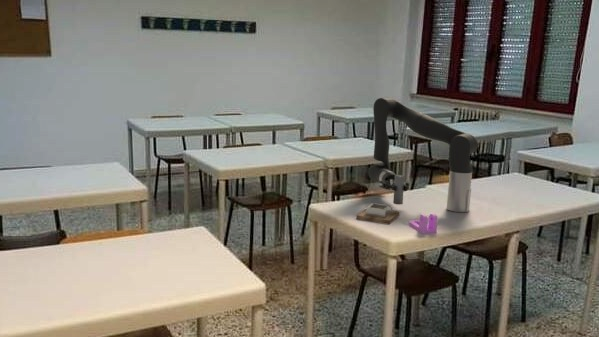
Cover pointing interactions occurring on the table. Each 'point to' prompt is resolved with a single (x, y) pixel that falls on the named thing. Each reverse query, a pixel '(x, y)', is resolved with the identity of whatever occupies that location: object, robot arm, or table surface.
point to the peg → (398, 189)
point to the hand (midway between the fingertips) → (400, 188)
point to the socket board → (378, 213)
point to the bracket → (425, 224)
